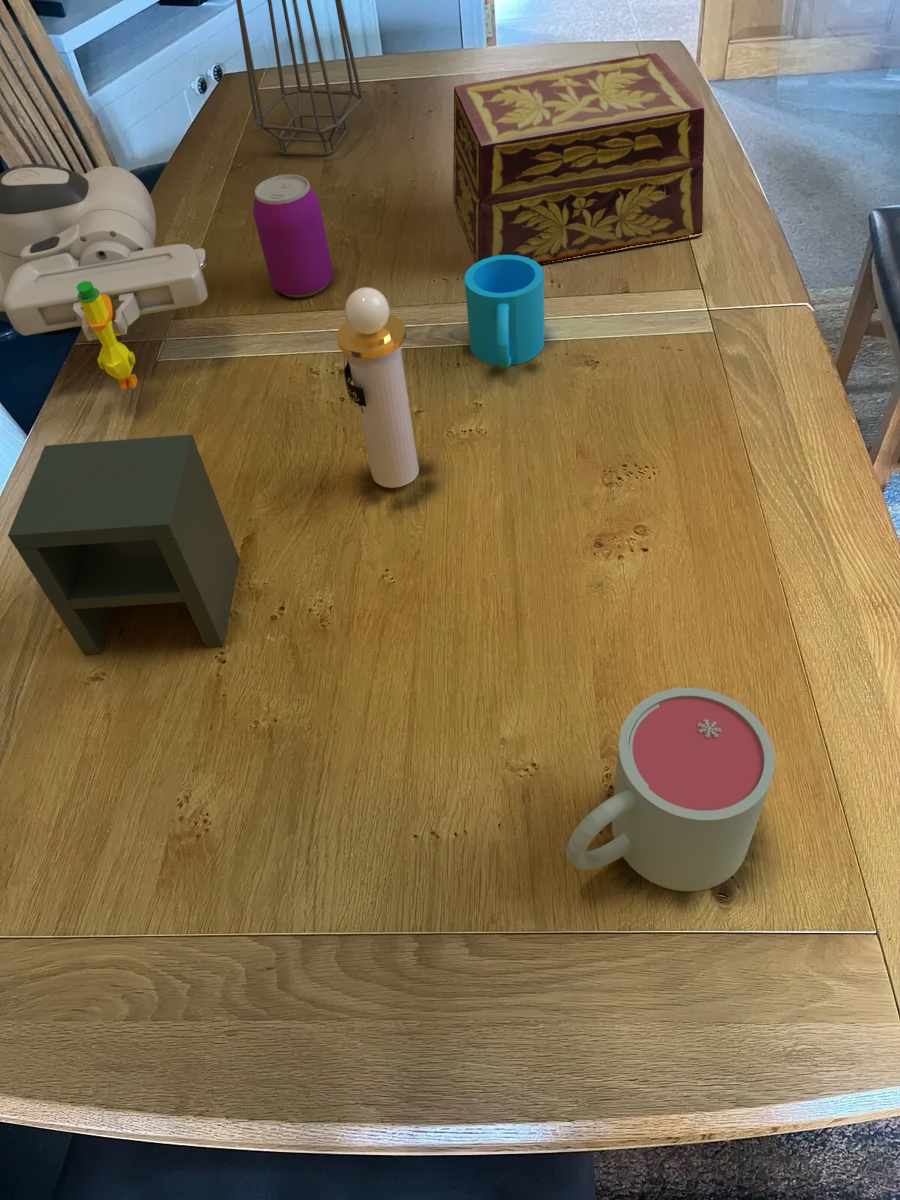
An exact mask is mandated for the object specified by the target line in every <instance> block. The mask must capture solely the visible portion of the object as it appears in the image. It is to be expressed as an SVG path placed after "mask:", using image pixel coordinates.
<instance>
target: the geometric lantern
mask: <svg viewBox="0 0 900 1200" xmlns="http://www.w3.org/2000/svg"><path fill="white" fill-rule="evenodd" d="M272 1H273V0H267V6H268V12H269V20H270V24H271V31H272V32H271V33H272V40H273V44H274V53H275V58H276V65H277V72H278V78H279V79H278V80H279V87H280V95H278V96H277V97H276V98H275V99H274V100H273V101H272V103H270V104H269V105H268V106H267V107H266V109H264V110H263V107H262V102H261V96H260V92H259V87H258V80H257V76H256V71H255V67H254V65H255V64H254V60H253V55H252V51H251V50H252V49H251V45H250V39H249V34H248V30H247V24H246V19H245V13H244V8H243V4H242V0H235V3H236V7H237V14H238V15H237V16H238V19H239V20H238V22H239V27H240V28H239V29H240V35H241V41H242V48H243V54H244V61H245V67H246V72H247V81H248V87H249V93H250V101H251V106H252V112H253V113H252V114H253V119H254V124H255V125H256V126H258V127H259V128H260V129H262V130H264V131H265V132H267V133H268V134H270V135H271V136H273V137H275V138H276V139H277V140H278V143H279V149H280V150H279V153H280V154H282V155H284V156H328V155H330V154H332V153H333V152H334V151H335V150H336V149H337V148H338V146H339V144H340V142H341V141H342V140H343V138H344V136H345V135H346V134H347V132H348V129H347V123H346V120H347V119H348V117H349V116H350V115H351V114H352V113H353V112H354V111H355V110H356V109H357V108H358V107H359V106H360V105H361V104H362V103H363V101H364V97H363V93H362V89H361V82H360V79H359V73H358V70H357V64H356V61H355V55H354V51H353V47H352V41H351V37H350V33H349V29H348V25H347V19H346V15H345V11H344V5H343V1H342V0H334V2H335V8H336V14H337V20H338V26H339V31H340V37H341V42H342V47H343V53H344V54H343V55H344V59H345V65H346V72H347V76H348V81H349V82H348V83H349V87H350V89H349V90H340V89H339V90H337V89H331V86H330V82H329V77H328V73H327V68H326V64H325V58H324V55H323V50H322V45H321V41H320V36H319V32H318V28H317V23H316V18H315V14H314V9H313V5H312V0H306V4H307V9H308V13H309V17H310V23H311V27H312V31H313V36H314V41H315V44H316V49H317V53H318V59H319V62H320V67H321V71H322V76H323V81H324V85H325V89H318V88H314V87H313V81H312V75H311V70H310V69H311V68H310V65H309V60H308V59H309V58H308V53H307V49H306V43H305V39H304V38H305V37H304V33H303V27H302V22H301V16H300V13H299V6H298V3H297V0H292V6H293V11H294V16H295V22H296V25H297V26H296V28H297V32H298V38H299V43H300V48H301V54H302V59H303V64H304V68H305V69H304V70H305V75H306V79H307V85H308V88H302V85H301V79H300V74H299V69H298V63H297V57H296V51H295V45H294V40H293V33H292V28H291V23H290V17H289V11H288V6H287V1H286V0H281V4H282V10H283V15H284V20H285V27H286V32H287V37H288V43H289V49H290V54H291V59H292V64H293V71H294V75H295V81H296V87H297V88H295V89H290V90H285V84H284V76H283V70H282V69H283V68H282V62H281V55H280V48H279V42H278V36H277V35H278V34H277V30H276V22H275V16H274V15H275V14H274V9H273V2H272ZM351 67H352V68H351ZM353 76H354V80H353ZM354 81H355V85H356V90H357V91H355V85H354ZM301 93H302V94H304V93H305V94H309V95H310V100H311V105H312V111H313V114H302V109H301V107H302V106H301ZM295 94H296V95H297V96H296V97H297V109H298V111H297V112H298V114H295V112H294V111H293V109H292V107H291V105H290V103H289V102H288V100H287V98H286V96H291V95H295ZM315 94H324V95H327V98H328V99H327V100H328V104H329V107H330V111H331V114H319V112H318V107H317V101H316V96H315ZM333 95H343V96H348V97H347V100H346V102H345V104H344V107H343V109H342V111H341V113H340V114H337V113H336V109H335V105H334V104H335V103H334V100H333ZM353 96H354V97H355V98H356V99H357V100H356V101H355V103H354V104H353V105H351V106H350V108H349V109H348V110H347V108H348V106H349V103H350V102H351V99H352V97H353ZM282 100H283V101H284V103H285V105H286V107H287V109H288V110H289V112H290V114H291V116H292V117H291V119H290V120H289V121H288V123H287V124H286V125H274V124H266V122H265V119H264V118H265V116H267V115H268V113H269V112H271V110H272V109H273V108H274V107H275V106H276V105H278V103H279V102H280V101H282ZM258 114H259V116H258ZM303 118H314V120H315V126H304V123H303V122H304V121H303ZM320 118H332V120H333V124H331V125H328V126H321V123H320ZM296 119H299V124H300V127H298V126H297V121H296ZM292 123H293V125H294V126H291V125H292ZM273 130H276V131H281V132H280V134H279V135H278V134H277V133H275V132H274V131H273ZM330 131H331V132H330ZM337 131H343V132H342V133H341V135H340V136H339V138H338V139H337V140H336V142H335V144H334V142H333V137H334V136H335V134H336V133H337ZM286 132H292V133H291V135H290V136H289V137H283V136H284V134H285V133H286ZM328 132H330V134H329V136H328V137H327V138H325V136H324V135H323V134H326V133H328ZM297 133H306V134H315V135H319V137H320V138H318V139H317V138H298V137H295V135H296V134H297ZM290 142H306V143H307V142H308V143H309V142H310V143H322V145H323V149H324V152H323V151H322V152H316V151H315V152H311V151H310V152H309V151H307V152H304V151H303V152H302V151H299V152H297V151H296V152H295V151H294V152H293V151H292V152H291V151H287V146H288V145H289V144H290ZM327 142H329V145H330V149H329V150H328V148H327Z"/></svg>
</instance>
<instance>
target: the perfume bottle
mask: <svg viewBox="0 0 900 1200" xmlns="http://www.w3.org/2000/svg"><path fill="white" fill-rule="evenodd" d="M344 316H345V320H346V321H345V322H343V323H342V324H341V326H340V327H339V328H338V330H337V331H336V342H337V345H338V349H339V350H340V351H341V352H342V353H344V355H347V359H346V358H344V359H343V360H344V361H342V364H343V369H342V370H343V374H344V379H345V385H346V389H347V394H348V397H349V399H350V402H351V404H353V402H354V403H355V404H357V408H358V414H359V418H360V423H361V429H362V434H363V438H364V444H365V447H366V448H365V449H366V454H367V457H368V464H369V468H370V473H371V477H372V479H373V481H374V482H375V483H376V484H378V485H379V486H382V487H384V488H391V489H392V488H393V489H394V488H400V487H404V486H407V485H409V484H410V483H412V482H413V481H414V480H415V479H416V478H417V477H418V475H419V471H420V465H419V459H418V453H417V447H416V446H417V445H416V439H415V433H414V426H413V418H412V413H411V406H410V400H409V393H408V387H407V379H406V372H405V367H404V360H403V352H402V345H403V344H404V342H405V341H406V338H407V331H406V325H405V323H404V321H403V320H402V319H401V318H399V317H398V316H396V315H394V314H391V313H390V304H389V302H388V300H387V298H386V297H385V296H384V294H383V293H382V292H381V291H379V290H378V289H376V288H374V287H369V286H364V287H363V286H362V287H359V288H357V289H355V290H354V291H353V292H351V293H350V294H349V296H348V297H347V299H346V301H345V304H344Z"/></svg>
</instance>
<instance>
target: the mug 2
mask: <svg viewBox="0 0 900 1200" xmlns="http://www.w3.org/2000/svg"><path fill="white" fill-rule="evenodd" d="M769 735H770V734H769V733H768V732H767V730H766V728H765V727H764V725H763V724H762V722H761V721H760V720H759V719H758V718H757V716H756V715H754V713H752V712H751V710H749V709H748V708H747V707H745V706H744V705H743V704H741V703H740V702H738V701H737V700H735V699H733V698H731V697H729V696H727V695H726V694H725V695H724V694H722V693H720V692H717V691H713V690H709V689H706V688H705V689H704V688H698V687H674V688H670V689H664V690H662V691H659V692H656V693H653V694H652V695H650V696H648V697H647V698H644V699H643V700H642V701H640V702H639V703H638V704H637V705H636V706H634V708H633V709H632V710H631V711H630V713H629V714H628V715H627V716H626V718H625V720H624V722H623V724H622V726H621V729H620V733H619V738H618V746H617V758H616V767H615V768H616V769H615V780H614V791H613V796H611V797H609V798H608V799H606V800H605V801H603V802H602V803H600V804H599V805H598V806H597V807H596V808H594V809H593V810H591V812H590V813H588V814H587V816H585V817H584V818H583V820H581V822H580V823H579V824H578V826H576V828H575V829H574V830H573V833H572V834H571V836H570V838H569V840H568V843H567V847H566V856H567V859H568V862H569V863H570V864H571V865H572V866H573V867H574V868H575V869H577V870H581V871H592V870H597V869H599V868H602V867H605V866H608V865H609V864H611V863H613V862H616V861H618V860H619V859H620V858H623V859H624V861H626V863H627V864H628V866H630V867H631V868H632V869H633V870H634V871H635V872H636V873H637V874H639V875H640V876H641V877H643V878H644V879H646V880H647V881H649V882H651V883H652V884H655V885H658V886H659V887H661V888H664V889H667V890H668V889H669V890H673V891H676V892H700V891H705V890H709V889H712V888H714V887H717V886H719V885H721V884H723V883H725V882H726V881H727V880H729V879H731V877H732V876H734V875H735V874H736V872H737V871H739V869H740V868H741V866H742V864H743V862H744V861H745V858H746V856H747V853H748V850H749V848H750V844H751V842H752V839H753V836H754V833H755V830H756V828H757V825H758V822H759V819H760V816H761V813H762V810H763V807H764V804H765V801H766V799H767V796H768V792H769V790H770V787H771V784H772V782H773V779H774V774H775V769H776V758H775V757H776V756H775V751H774V745H773V744H772V740H771V738H770V736H769ZM610 823H611V830H612V835H613V836H612V837H613V839H612V840H611V841H609V842H607V843H605V844H604V845H602V846H600V847H597V848H595V849H591V850H587V849H588V847H589V846H590V843H592V841H593V840H594V839H595V837H596V836H597V835H599V833H600V832H601V831H602V830H603V829H604V828H605V827H606V826H608V825H609V824H610Z"/></svg>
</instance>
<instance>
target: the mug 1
mask: <svg viewBox="0 0 900 1200" xmlns="http://www.w3.org/2000/svg"><path fill="white" fill-rule="evenodd" d="M543 270H544V269H543V267H542V265H539V264H538V263H537V262H536V261H533V260H531V259H529V258H527V257H522V256H518V255H500V256H493V257H489V258H486V259H483V260H481V261H479V262H477V263H473V264H472V265H471V266H470V267H469V268H468V269H467V270H466V271H465V275H464V289H465V300H466V301H465V302H466V313H467V323H468V324H467V325H468V337H469V346H470V347H469V348H470V352H471V353H472V354H473V356H474V357H475V358H476V359H478V360H479V361H481V362H483V363H485V364H489V365H492V366H498V367H499V368H501V369H508V368H510V367H511V366H515V365H516V366H517V365H521V364H523V363H527V362H529V361H531V360H533V359H534V358H536V357H538V355H539V354H540V353H541V352H542V350H543V349H544V346H545V342H546V341H545V340H546V338H545V274H544V271H543Z"/></svg>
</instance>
